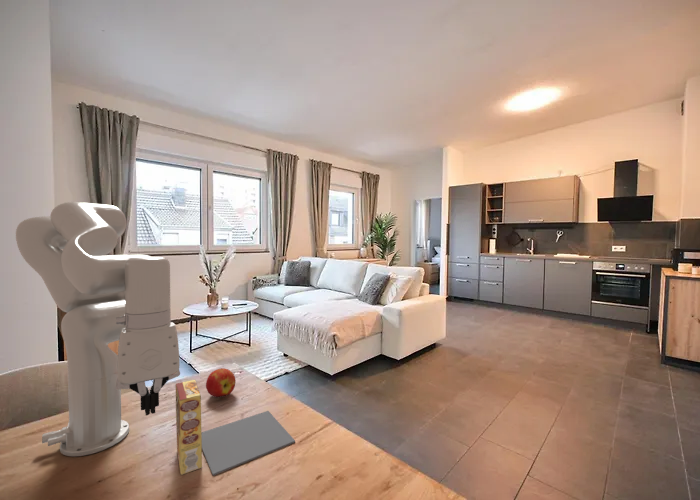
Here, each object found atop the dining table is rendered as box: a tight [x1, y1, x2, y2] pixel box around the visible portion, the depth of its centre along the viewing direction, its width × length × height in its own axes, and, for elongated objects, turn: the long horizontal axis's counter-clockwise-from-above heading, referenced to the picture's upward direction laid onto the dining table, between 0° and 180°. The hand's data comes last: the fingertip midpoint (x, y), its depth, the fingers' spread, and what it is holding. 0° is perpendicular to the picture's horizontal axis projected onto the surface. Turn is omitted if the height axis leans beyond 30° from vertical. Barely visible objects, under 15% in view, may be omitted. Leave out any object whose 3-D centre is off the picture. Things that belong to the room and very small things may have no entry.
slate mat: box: [201, 410, 296, 477], centre depth 75 cm, size 18×16×1 cm
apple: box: [205, 367, 237, 399], centre depth 96 cm, size 8×8×8 cm
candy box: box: [175, 379, 203, 476], centre depth 68 cm, size 9×4×15 cm, turn 33°
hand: (149, 411), depth 63 cm, fingers closed
